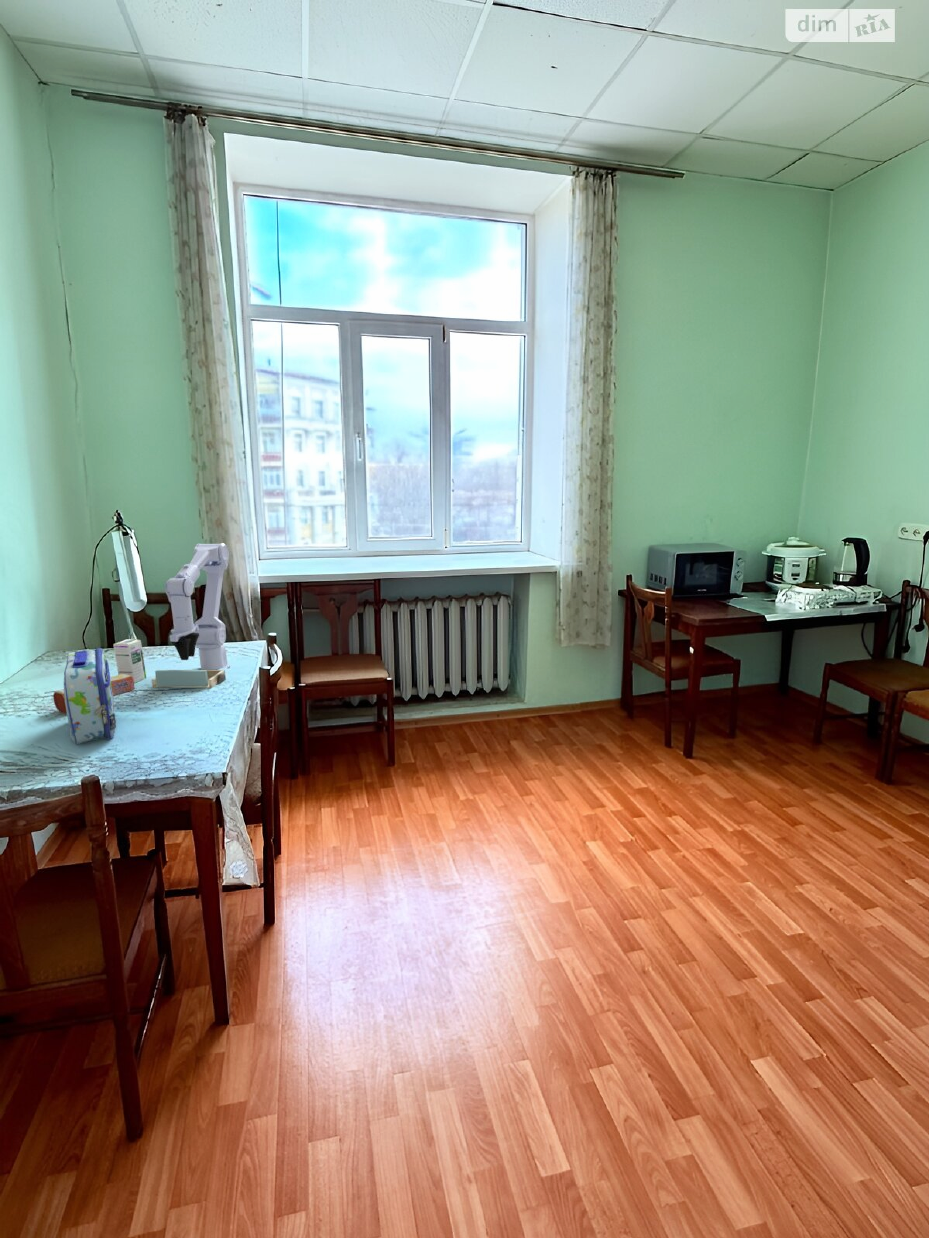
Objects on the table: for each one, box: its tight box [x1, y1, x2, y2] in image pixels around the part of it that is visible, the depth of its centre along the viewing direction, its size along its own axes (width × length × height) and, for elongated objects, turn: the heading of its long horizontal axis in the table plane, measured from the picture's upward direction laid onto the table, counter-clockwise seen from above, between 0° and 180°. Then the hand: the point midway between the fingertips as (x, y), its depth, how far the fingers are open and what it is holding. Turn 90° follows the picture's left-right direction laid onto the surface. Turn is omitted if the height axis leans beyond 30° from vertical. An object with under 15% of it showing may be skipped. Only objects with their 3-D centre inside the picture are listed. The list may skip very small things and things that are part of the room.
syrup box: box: [113, 638, 147, 684], centre depth 207 cm, size 6×6×14 cm
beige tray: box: [151, 669, 227, 689], centre depth 205 cm, size 10×21×4 cm, turn 86°
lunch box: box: [63, 647, 117, 744], centre depth 170 cm, size 26×11×21 cm, turn 29°
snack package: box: [52, 674, 135, 714], centre depth 193 cm, size 21×7×7 cm, turn 147°
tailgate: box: [154, 669, 208, 687], centre depth 200 cm, size 1×16×5 cm, turn 87°
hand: (187, 658), depth 204 cm, fingers open, 3 cm apart
